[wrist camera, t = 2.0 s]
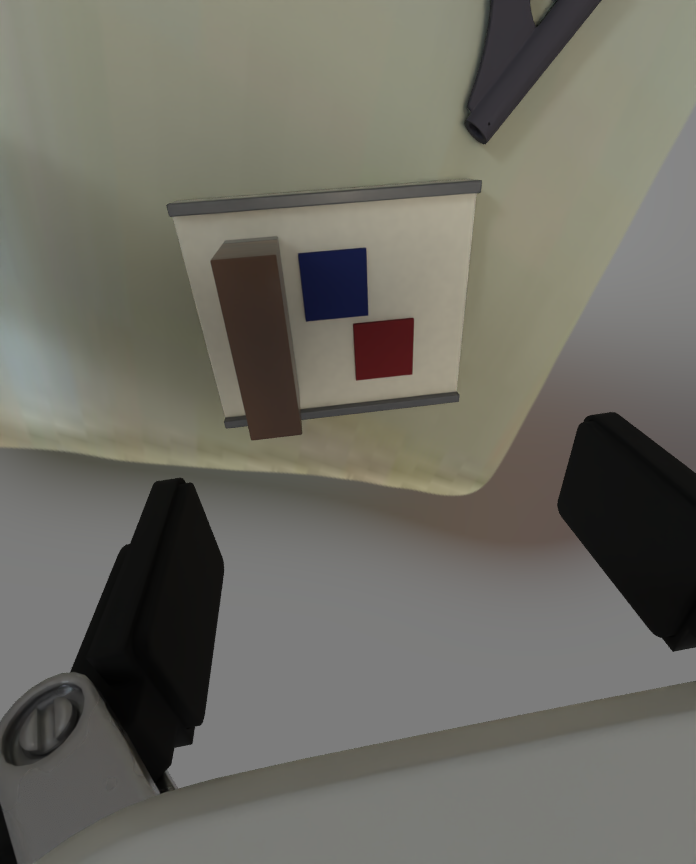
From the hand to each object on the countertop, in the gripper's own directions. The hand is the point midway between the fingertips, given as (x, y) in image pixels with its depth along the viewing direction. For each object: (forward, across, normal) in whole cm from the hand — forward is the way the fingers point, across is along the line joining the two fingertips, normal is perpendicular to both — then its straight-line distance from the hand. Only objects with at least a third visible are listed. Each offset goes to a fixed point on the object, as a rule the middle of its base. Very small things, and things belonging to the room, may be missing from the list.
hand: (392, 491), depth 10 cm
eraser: (+19, +4, +2) cm, 19 cm away
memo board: (+20, -1, +2) cm, 20 cm away
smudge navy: (+18, -1, 0) cm, 19 cm away
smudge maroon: (+18, -4, +4) cm, 19 cm away
